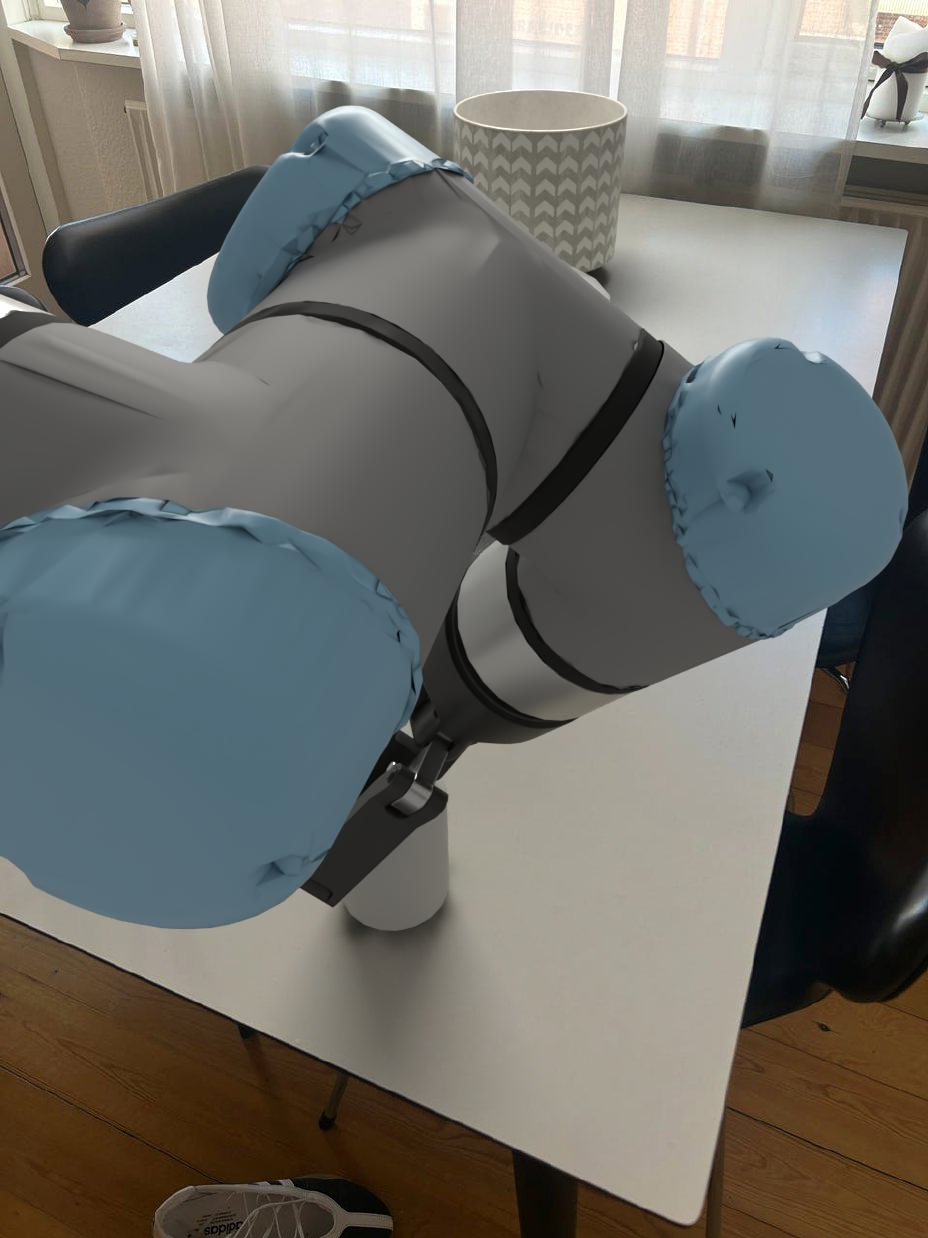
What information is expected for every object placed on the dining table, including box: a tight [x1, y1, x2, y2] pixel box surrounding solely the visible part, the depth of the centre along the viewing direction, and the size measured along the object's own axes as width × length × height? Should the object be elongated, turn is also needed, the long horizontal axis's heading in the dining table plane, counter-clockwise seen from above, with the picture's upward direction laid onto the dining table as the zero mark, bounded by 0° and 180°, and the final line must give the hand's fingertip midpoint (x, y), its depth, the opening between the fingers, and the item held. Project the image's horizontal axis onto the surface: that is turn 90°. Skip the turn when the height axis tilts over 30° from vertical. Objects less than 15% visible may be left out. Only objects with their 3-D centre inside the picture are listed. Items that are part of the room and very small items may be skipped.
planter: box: [452, 88, 629, 273], centre depth 146 cm, size 25×25×24 cm
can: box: [341, 776, 450, 932], centre depth 63 cm, size 8×8×12 cm
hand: (353, 747), depth 56 cm, fingers open, 13 cm apart
